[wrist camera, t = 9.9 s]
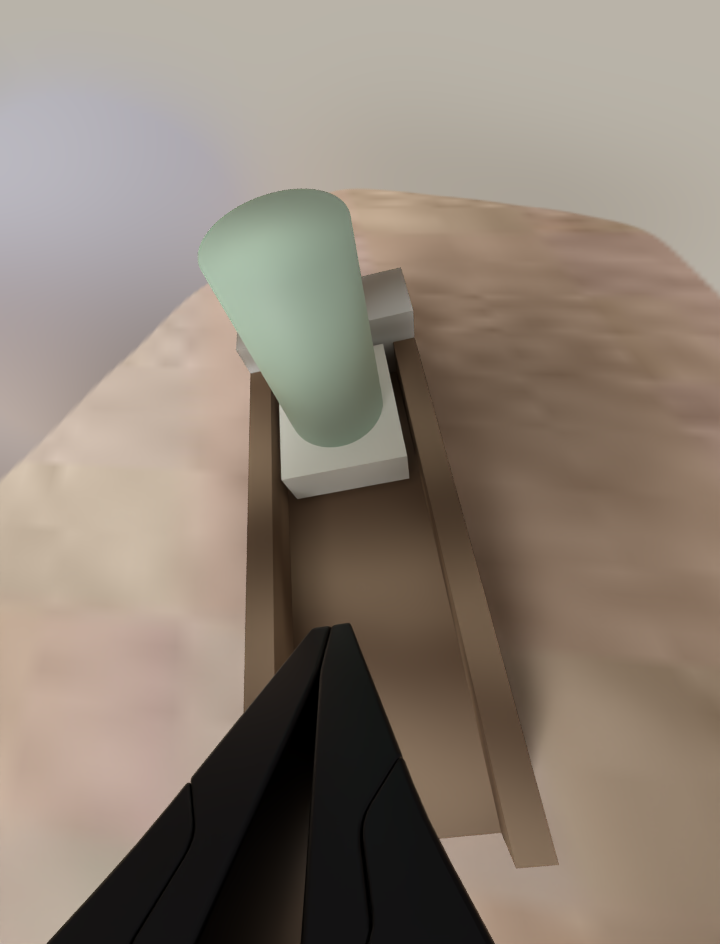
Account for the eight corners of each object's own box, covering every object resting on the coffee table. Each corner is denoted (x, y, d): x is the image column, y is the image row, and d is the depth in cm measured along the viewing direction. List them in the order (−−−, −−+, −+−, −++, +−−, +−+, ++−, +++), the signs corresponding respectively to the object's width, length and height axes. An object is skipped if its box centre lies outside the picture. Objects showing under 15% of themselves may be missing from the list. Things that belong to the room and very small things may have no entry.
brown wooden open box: (524, 809, 12) (582, 902, 7) (286, 833, 12) (209, 931, 8) (405, 344, 21) (400, 264, 17) (275, 373, 22) (238, 303, 18)
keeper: (409, 478, 16) (389, 288, 8) (297, 499, 16) (165, 340, 8) (387, 373, 18) (355, 152, 10) (292, 393, 19) (190, 196, 11)
